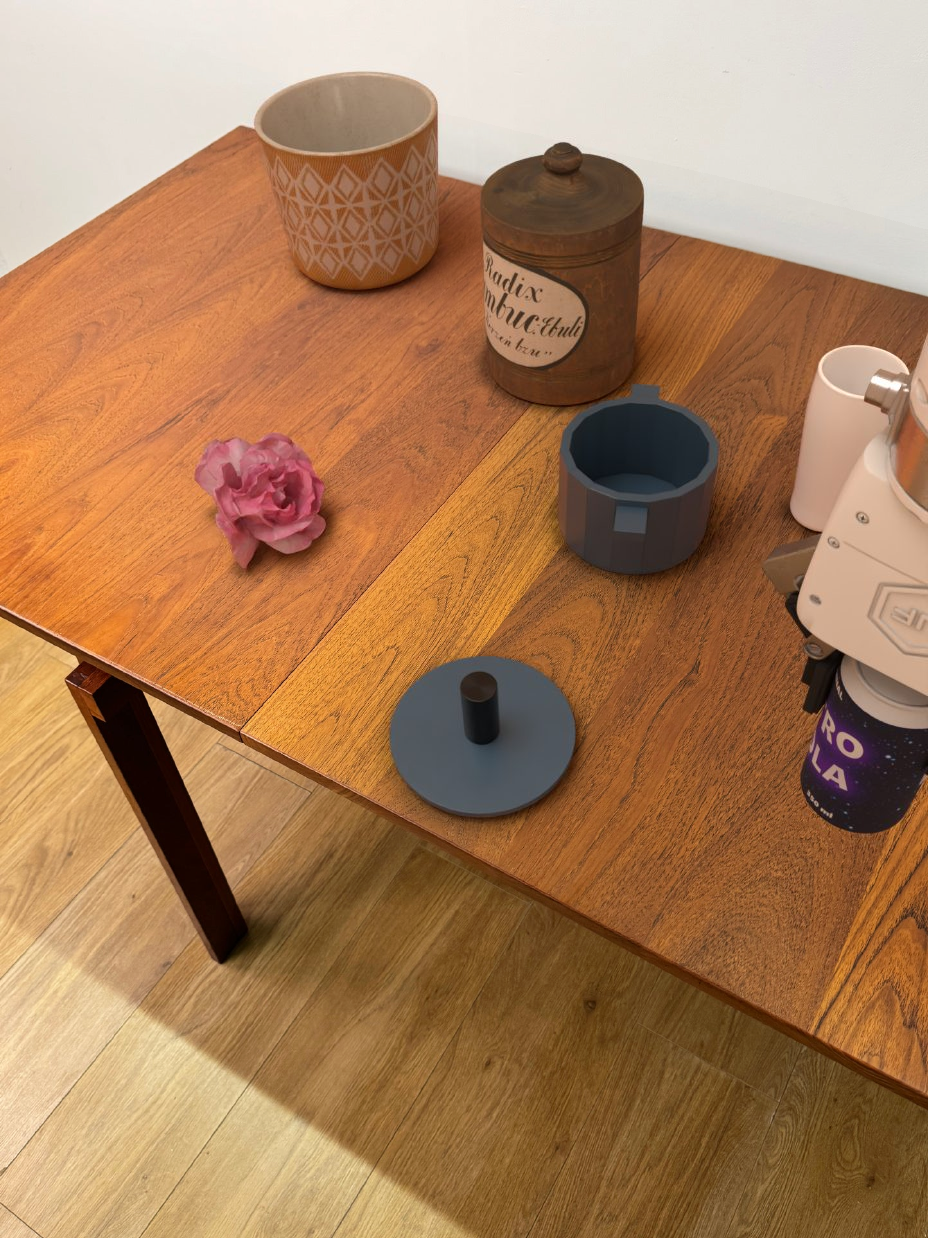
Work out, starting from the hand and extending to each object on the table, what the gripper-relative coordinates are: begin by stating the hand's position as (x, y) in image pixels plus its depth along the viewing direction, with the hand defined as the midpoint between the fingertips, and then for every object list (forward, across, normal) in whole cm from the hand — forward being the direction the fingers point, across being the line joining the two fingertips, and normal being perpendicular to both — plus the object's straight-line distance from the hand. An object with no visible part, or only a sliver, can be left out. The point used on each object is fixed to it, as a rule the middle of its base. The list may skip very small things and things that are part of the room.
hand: (882, 724), depth 49 cm
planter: (+20, -78, +39) cm, 89 cm away
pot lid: (+19, -24, -4) cm, 31 cm away
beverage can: (+7, 0, 0) cm, 7 cm away
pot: (+20, -28, +21) cm, 41 cm away
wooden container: (+20, -47, +36) cm, 62 cm away
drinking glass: (+21, -16, +32) cm, 41 cm away
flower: (+20, -53, +2) cm, 56 cm away
